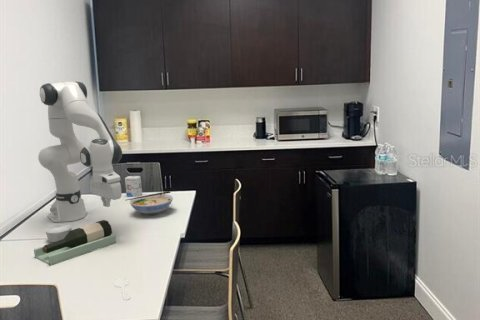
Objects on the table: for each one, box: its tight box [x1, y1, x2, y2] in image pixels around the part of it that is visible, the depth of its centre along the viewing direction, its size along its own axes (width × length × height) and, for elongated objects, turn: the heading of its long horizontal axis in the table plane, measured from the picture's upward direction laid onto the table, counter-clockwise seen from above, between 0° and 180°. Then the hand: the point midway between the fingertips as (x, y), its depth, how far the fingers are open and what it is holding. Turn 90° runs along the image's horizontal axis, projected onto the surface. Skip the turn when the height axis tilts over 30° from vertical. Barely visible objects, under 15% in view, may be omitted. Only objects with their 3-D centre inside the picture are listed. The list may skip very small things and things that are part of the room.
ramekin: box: [45, 224, 73, 243], centre depth 216 cm, size 11×11×5 cm
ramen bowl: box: [126, 190, 174, 216], centre depth 249 cm, size 25×23×8 cm
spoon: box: [113, 277, 132, 301], centre depth 163 cm, size 5×18×1 cm, turn 22°
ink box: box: [124, 175, 143, 198], centre depth 286 cm, size 9×5×12 cm, turn 81°
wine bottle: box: [42, 219, 113, 253], centre depth 203 cm, size 8×8×30 cm
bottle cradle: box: [33, 234, 117, 266], centre depth 202 cm, size 14×30×4 cm, turn 137°
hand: (106, 206), depth 211 cm, fingers closed
